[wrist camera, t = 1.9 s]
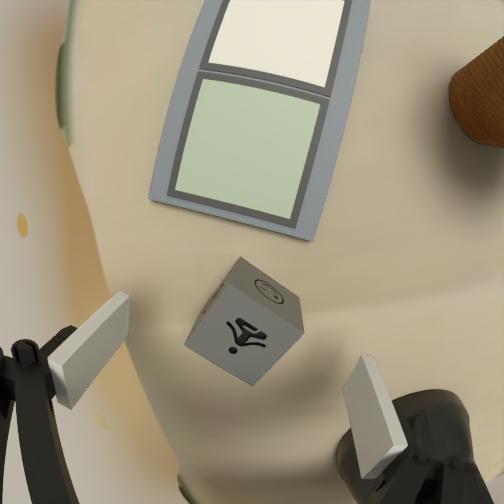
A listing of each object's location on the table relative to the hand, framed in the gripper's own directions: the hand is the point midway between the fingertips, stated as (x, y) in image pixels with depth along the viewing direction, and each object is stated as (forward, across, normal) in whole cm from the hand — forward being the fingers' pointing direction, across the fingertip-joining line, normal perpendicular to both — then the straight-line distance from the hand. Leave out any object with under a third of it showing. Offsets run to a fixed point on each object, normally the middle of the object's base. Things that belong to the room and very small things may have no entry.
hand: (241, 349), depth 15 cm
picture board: (+6, +3, -14) cm, 16 cm away
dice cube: (+6, 0, 0) cm, 6 cm away
